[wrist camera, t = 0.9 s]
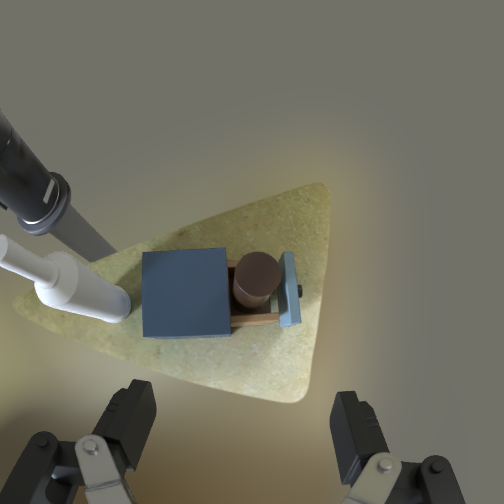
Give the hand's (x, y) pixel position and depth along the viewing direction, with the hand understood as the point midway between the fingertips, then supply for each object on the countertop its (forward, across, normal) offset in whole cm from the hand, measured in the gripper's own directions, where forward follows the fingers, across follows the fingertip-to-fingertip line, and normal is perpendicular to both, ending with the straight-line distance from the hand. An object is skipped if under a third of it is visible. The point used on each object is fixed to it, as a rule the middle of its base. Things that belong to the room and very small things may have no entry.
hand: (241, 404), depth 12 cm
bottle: (+25, +19, +9) cm, 32 cm away
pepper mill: (+26, +1, +7) cm, 27 cm away
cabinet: (+26, +8, +8) cm, 29 cm away
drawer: (+27, -1, +7) cm, 28 cm away
